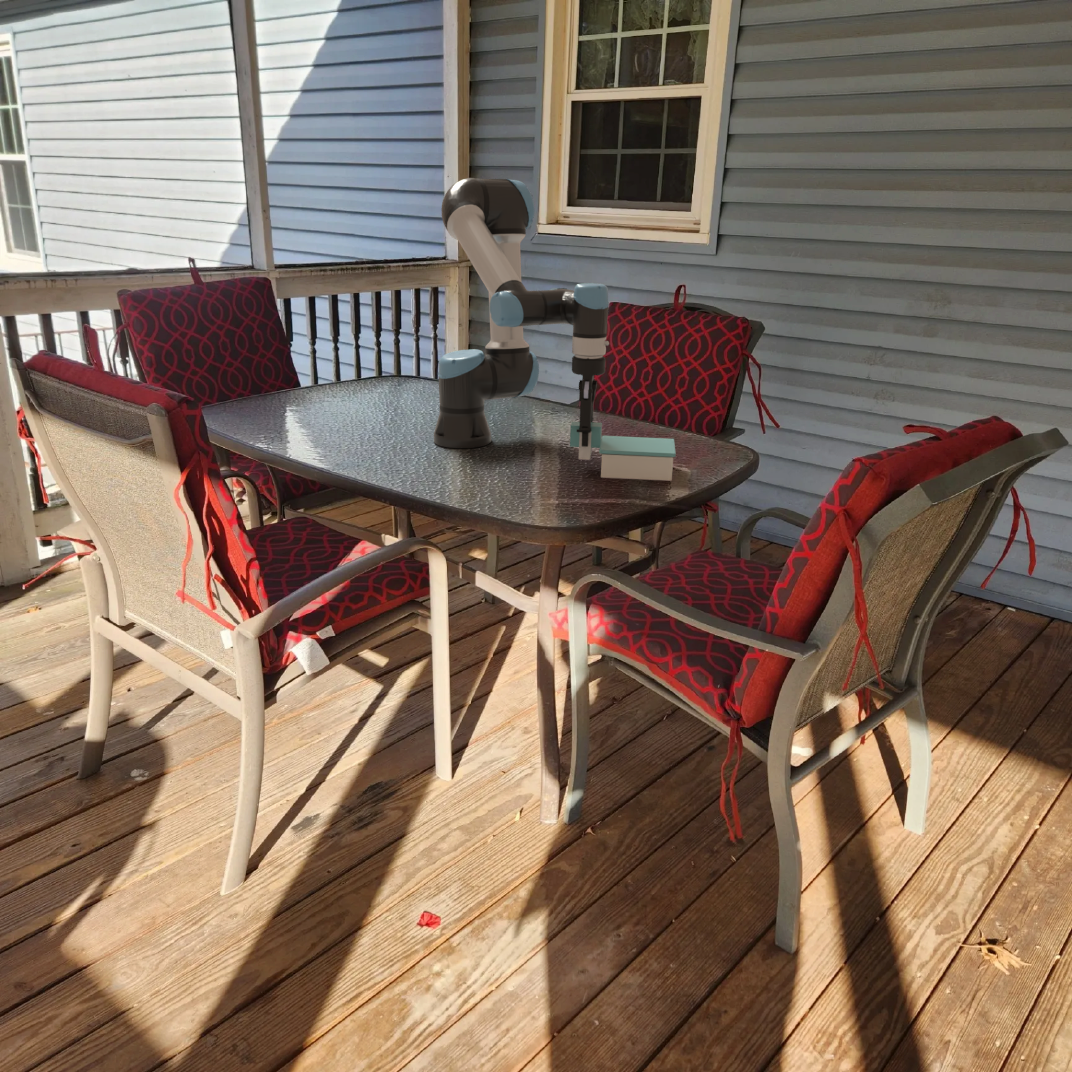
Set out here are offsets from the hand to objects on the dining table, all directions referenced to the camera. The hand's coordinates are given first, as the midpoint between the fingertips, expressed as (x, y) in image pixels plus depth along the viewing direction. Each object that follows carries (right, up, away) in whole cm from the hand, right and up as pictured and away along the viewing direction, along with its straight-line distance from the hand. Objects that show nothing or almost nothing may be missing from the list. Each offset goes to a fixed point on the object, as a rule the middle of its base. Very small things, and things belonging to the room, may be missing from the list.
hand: (585, 456), depth 200 cm
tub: (+12, -4, 0) cm, 13 cm away
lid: (+9, +2, -2) cm, 9 cm away
